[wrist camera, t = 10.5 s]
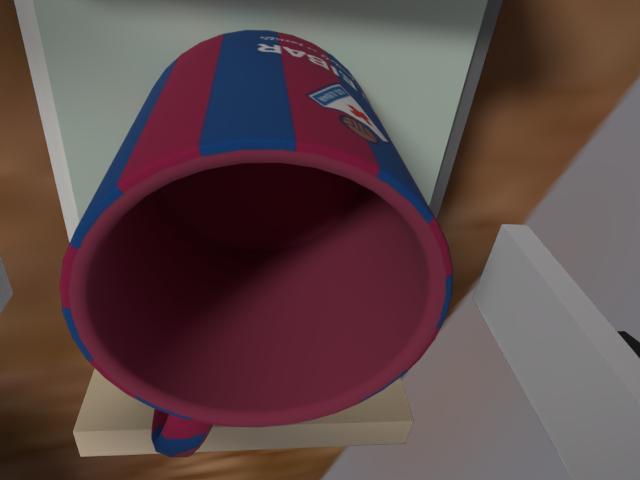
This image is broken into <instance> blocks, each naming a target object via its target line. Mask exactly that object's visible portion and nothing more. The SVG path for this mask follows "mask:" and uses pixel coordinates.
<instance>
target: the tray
mask: <svg viewBox="0 0 640 480" xmlns="http://www.w3.org/2000/svg"><path fill="white" fill-rule="evenodd" d="M502 2H503V0H14V3H15V7H16V11H17V16H18V20H19V24H20V29H21V33H22V38H23V42H24V46H25V51H26V55H27V59H28V64H29V68H30V72H31V77H32V81H33V85H34V90H35V94H36V98H37V103H38V107H39V112H40V116H41V120H42V125H43V129H44V133H45V138H46V142H47V146H48V151H49V155H50V159H51V164H52V168H53V172H54V177H55V181H56V186H57V190H58V194H59V199H60V203H61V207H62V212H63V216H64V220H65V225H66V229H67V233H68V238H69V242H70V241H71V239H72V237H73V234H74V232H75V230H76V228H77V226H78V224H79V222H80V220H81V219H82V217H83V215H84V213H85V211H86V209H87V208H88V206H89V204H90V202H91V200H92V198H93V196H94V195H95V193H96V191H97V189H98V187H99V185H100V184H101V182H102V180H103V178H104V176H105V174H106V173H107V171H108V169H109V167H110V165H111V163H112V161H113V160H114V158H115V156H116V154H117V152H118V150H119V149H120V147H121V145H122V143H123V141H124V139H125V138H126V136H127V134H128V132H129V130H130V128H131V126H132V125H133V123H134V121H135V119H136V117H137V115H138V114H139V112H140V110H141V108H142V106H143V104H144V103H145V101H146V99H147V97H148V95H149V93H150V91H151V90H152V88H153V86H154V85H155V83H156V82H157V80H158V79H159V78H160V76H161V75H162V73H163V72H164V70H165V69H166V68H167V67H168V66H169V65H170V64H171V63H173V62H174V61H175V60H176V59H177V58H178V57H179V56H180V55H181V54H182V53H184V52H186V51H187V50H189V49H190V48H192V47H194V46H195V45H197V44H198V43H200V42H202V41H205V40H208V39H210V38H213V37H216V36H218V35H221V34H225V33H231V32H236V31H242V30H270V31H275V32H280V33H285V34H290V35H294V36H296V37H299V38H301V39H304V40H306V41H309V42H311V43H314V44H315V45H317V46H318V47H320V48H321V49H323V50H325V51H326V52H328V53H329V54H331V55H333V56H334V57H335V58H336V59H337V60H338V61H339V62H340V63H341V64H342V65H343V66H344V67H345V68H347V69H348V70H349V72H350V73H351V74H352V76H353V77H354V78H355V80H356V81H357V83H358V84H359V85H360V87H361V88H362V90H363V92H364V93H365V95H366V97H367V99H368V100H369V102H370V104H371V106H372V107H373V109H374V111H375V113H376V114H377V116H378V118H379V120H380V121H381V123H382V125H383V127H384V128H385V130H386V132H387V134H388V135H389V137H390V139H391V141H392V142H393V144H394V146H395V148H396V149H397V151H398V153H399V155H400V156H401V158H402V160H403V162H404V164H405V165H406V167H407V169H408V171H409V172H410V174H411V176H412V178H413V179H414V181H415V183H416V185H417V186H418V188H419V190H420V192H421V193H422V195H423V197H424V199H425V200H426V202H427V204H428V206H429V207H430V209H431V211H432V213H433V214H434V216H435V218H436V220H437V217H438V214H439V211H440V207H441V204H442V201H443V197H444V194H445V191H446V187H447V184H448V181H449V177H450V174H451V171H452V167H453V164H454V161H455V158H456V154H457V151H458V148H459V144H460V141H461V138H462V134H463V131H464V128H465V124H466V121H467V118H468V114H469V111H470V108H471V105H472V101H473V98H474V95H475V91H476V88H477V85H478V81H479V78H480V75H481V71H482V68H483V65H484V61H485V58H486V55H487V52H488V48H489V45H490V42H491V38H492V35H493V32H494V28H495V25H496V22H497V18H498V15H499V12H500V8H501V5H502ZM153 415H154V408H152V407H150V406H148V405H146V404H144V403H142V402H140V401H138V400H136V399H134V398H133V397H131V396H129V395H127V394H126V393H124V392H123V391H121V390H120V389H119V388H117V387H116V386H115V385H113V384H112V383H111V382H109V381H108V380H106V379H105V378H104V377H103V376H102V375H101V374H100V373H99V372H98V371H97V370H96V369H94V372H93V375H92V378H91V381H90V384H89V386H88V389H87V392H86V395H85V398H84V401H83V404H82V407H81V410H80V413H79V415H78V418H77V421H76V424H75V427H74V430H73V434H74V437H75V440H76V444H77V447H78V450H79V453H80V456H81V457H84V456H109V455H135V454H160V453H158V452H156V451H155V448H154V445H153V442H152V439H151V432H152V422H153ZM413 422H414V420H413V417H412V413H411V410H410V407H409V403H408V400H407V397H406V394H405V390H404V387H403V384H402V381H401V377H400V378H399V379H398V380H396V381H395V382H394V383H392V384H391V385H389V386H388V387H387V388H385V389H384V390H383V391H381V392H379V393H377V394H376V395H374V396H372V397H370V398H368V399H367V400H365V401H363V402H361V403H359V404H357V405H355V406H352V407H350V408H347V409H345V410H343V411H340V412H338V413H335V414H332V415H328V416H325V417H321V418H318V419H315V420H311V421H306V422H301V423H295V424H290V425H284V426H271V427H258V428H256V427H227V426H220V425H213V427H212V429H211V431H210V432H209V434H208V436H207V438H206V440H205V441H204V442H203V444H202V445H201V446H200V448H199V449H198V450H197V451H196V452H210V451H235V450H260V449H285V448H310V447H335V446H359V445H385V444H405V443H406V440H407V437H408V435H409V432H410V430H411V427H412V424H413Z"/></svg>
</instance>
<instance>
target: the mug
mask: <svg viewBox="0 0 640 480" xmlns="http://www.w3.org/2000/svg"><path fill="white" fill-rule="evenodd" d="M452 279H453V268H452V263H451V258H450V253H449V247H448V244H447V241H446V239H445V237H444V235H443V233H442V231H441V228H440V226H439V224H438V222H437V220H436V218H435V216H434V214H433V213H432V211H431V209H430V207H429V206H428V204H427V202H426V200H425V199H424V197H423V195H422V193H421V192H420V190H419V188H418V186H417V185H416V183H415V181H414V179H413V178H412V176H411V174H410V172H409V171H408V169H407V167H406V165H405V164H404V162H403V160H402V158H401V156H400V155H399V153H398V151H397V149H396V148H395V146H394V144H393V142H392V141H391V139H390V137H389V135H388V134H387V132H386V130H385V128H384V127H383V125H382V123H381V121H380V120H379V118H378V116H377V114H376V113H375V111H374V109H373V107H372V106H371V104H370V102H369V100H368V99H367V97H366V95H365V93H364V92H363V90H362V88H361V87H360V85H359V84H358V83H357V81H356V80H355V78H354V77H353V76H352V74H351V73H350V72H349V70H348V69H347V68H345V67H344V66H343V65H342V64H341V63H340V62H339V61H338V60H337V59H336V58H335V57H334V56H333V55H331V54H329V53H328V52H326V51H325V50H323V49H321V48H320V47H318V46H317V45H315V44H314V43H311V42H309V41H306V40H304V39H301V38H299V37H296V36H294V35H290V34H285V33H280V32H275V31H270V30H242V31H236V32H231V33H225V34H221V35H218V36H216V37H213V38H210V39H208V40H205V41H202V42H200V43H198V44H197V45H195V46H194V47H192V48H190V49H189V50H187V51H186V52H184V53H182V54H181V55H180V56H179V57H178V58H177V59H176V60H175V61H174V62H173V63H171V64H170V65H169V66H168V67H167V68H166V69H165V70H164V72H163V73H162V75H161V76H160V78H159V79H158V80H157V82H156V83H155V85H154V86H153V88H152V90H151V91H150V93H149V95H148V97H147V99H146V101H145V103H144V104H143V106H142V108H141V110H140V112H139V114H138V115H137V117H136V119H135V121H134V123H133V125H132V126H131V128H130V130H129V132H128V134H127V136H126V138H125V139H124V141H123V143H122V145H121V147H120V149H119V150H118V152H117V154H116V156H115V158H114V160H113V161H112V163H111V165H110V167H109V169H108V171H107V173H106V174H105V176H104V178H103V180H102V182H101V184H100V185H99V187H98V189H97V191H96V193H95V195H94V196H93V198H92V200H91V202H90V204H89V206H88V208H87V209H86V211H85V213H84V215H83V217H82V219H81V220H80V222H79V224H78V226H77V228H76V230H75V232H74V234H73V237H72V239H71V241H70V244H69V246H68V249H67V251H66V254H65V256H64V259H63V266H62V273H61V281H60V293H61V301H62V309H63V315H64V317H65V320H66V322H67V325H68V328H69V330H70V333H71V335H72V338H73V340H74V341H75V343H76V344H77V346H78V347H79V349H80V350H81V352H82V353H83V355H84V356H85V358H86V359H87V360H88V362H89V363H90V364H91V365H92V366H93V367H94V368H95V369H96V370H97V371H98V372H99V373H100V374H101V375H102V376H103V377H104V378H105V379H106V380H108V381H109V382H111V383H112V384H113V385H115V386H116V387H117V388H119V389H120V390H121V391H123V392H124V393H126V394H127V395H129V396H131V397H133V398H134V399H136V400H138V401H140V402H142V403H144V404H146V405H148V406H150V407H152V408H154V415H153V422H152V432H151V439H152V442H153V445H154V448H155V451H156V452H158V453H161V454H164V455H167V456H170V457H188V456H190V455H192V454H193V453H195V452H196V451H197V450H198V449H199V448H200V446H201V445H202V444H203V442H204V441H205V440H206V438H207V436H208V434H209V432H210V431H211V429H212V427H213V425H220V426H227V427H256V428H258V427H271V426H284V425H290V424H295V423H301V422H306V421H311V420H315V419H318V418H321V417H325V416H328V415H332V414H335V413H338V412H340V411H343V410H345V409H347V408H350V407H352V406H355V405H357V404H359V403H361V402H363V401H365V400H367V399H368V398H370V397H372V396H374V395H376V394H377V393H379V392H381V391H383V390H384V389H385V388H387V387H388V386H389V385H391V384H392V383H394V382H395V381H396V380H398V379H399V378H400V377H402V376H403V375H404V374H405V373H406V372H407V371H408V370H409V369H410V368H411V367H412V366H413V365H414V364H415V363H416V362H417V361H418V360H419V359H420V358H421V357H422V356H423V354H424V353H425V352H426V350H427V349H428V348H429V346H430V345H431V344H432V342H433V341H434V340H435V338H436V336H437V334H438V332H439V330H440V328H441V326H442V324H443V322H444V320H445V318H446V314H447V311H448V307H449V303H450V299H451V296H452Z"/></svg>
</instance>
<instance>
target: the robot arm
mask: <svg viewBox="0 0 640 480" xmlns="http://www.w3.org/2000/svg"><path fill="white" fill-rule="evenodd" d="M12 294H13V292H12V289H11V286H10V283H9V280H8V277H7V274H6V271H5V268H4V265H3V262H2V259H1V256H0V314H1V312H2V311H3V309H4V307H5V306H6V304H7V302H8V301H9V299H10V298H11V296H12ZM473 300H474V302H475V304H476V305H477V307H478V309H479V311H480V313H481V314H482V316H483V318H484V320H485V322H486V324H487V325H488V327H489V329H490V331H491V333H492V334H493V336H494V338H495V340H496V342H497V344H498V346H499V347H500V349H501V351H502V353H503V355H504V356H505V358H506V360H507V362H508V364H509V366H510V367H511V369H512V371H513V373H514V375H515V376H516V378H517V380H518V382H519V384H520V386H521V387H522V389H523V391H524V393H525V395H526V396H527V398H528V400H529V402H530V404H531V406H532V407H533V409H534V411H535V413H536V415H537V416H538V418H539V420H540V422H541V424H542V425H543V427H544V429H545V431H546V432H547V435H548V436H549V438H550V440H551V442H552V444H553V446H554V447H555V449H556V451H557V453H558V455H559V456H560V458H561V460H562V462H563V464H564V466H565V467H566V469H567V471H568V473H569V475H570V477H571V478H572V480H640V342H638V341H637V340H635V339H634V338H633V337H632V336H630V335H629V334H628V333H626V332H625V331H616V330H615V329H614V327H613V326H612V325H611V324H610V323H609V321H608V320H607V319H606V318H605V317H604V316H603V315H602V313H601V312H600V311H599V310H598V308H597V307H596V306H595V305H594V304H593V303H592V301H591V300H590V299H589V298H588V297H587V296H586V294H585V293H584V292H583V291H582V289H581V288H580V287H579V286H578V285H577V284H576V282H575V281H574V280H573V279H572V278H571V277H570V275H569V274H568V273H567V272H566V271H565V269H564V268H563V267H562V266H561V265H560V263H559V262H558V261H557V260H556V259H555V258H554V256H553V255H552V254H551V253H550V252H549V250H548V249H547V248H546V247H545V246H544V244H543V243H542V242H541V241H540V240H539V239H538V238H537V236H536V235H535V234H534V233H533V231H532V230H531V229H530V228H529V227H528V226H527V225H510V224H502V225H501V228H500V230H499V233H498V235H497V238H496V240H495V243H494V245H493V248H492V250H491V253H490V255H489V258H488V260H487V263H486V265H485V268H484V271H483V273H482V276H481V278H480V281H479V283H478V286H477V288H476V291H475V293H474V296H473Z"/></svg>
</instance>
